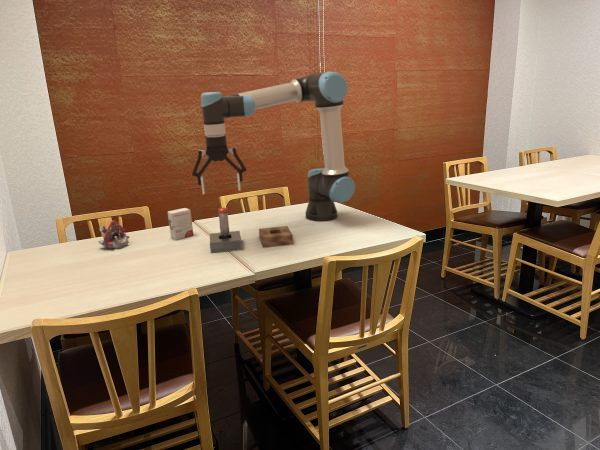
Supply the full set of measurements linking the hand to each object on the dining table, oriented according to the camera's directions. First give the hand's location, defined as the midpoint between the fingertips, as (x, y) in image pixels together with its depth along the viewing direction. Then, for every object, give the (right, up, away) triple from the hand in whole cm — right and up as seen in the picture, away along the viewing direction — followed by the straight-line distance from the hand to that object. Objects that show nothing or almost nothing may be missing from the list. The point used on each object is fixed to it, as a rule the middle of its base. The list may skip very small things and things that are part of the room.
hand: (221, 191), depth 169 cm
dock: (+1, -21, +6) cm, 22 cm away
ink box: (-21, -18, +20) cm, 34 cm away
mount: (+20, -19, +10) cm, 30 cm away
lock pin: (+1, -21, +6) cm, 22 cm away
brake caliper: (-46, -22, +12) cm, 52 cm away
